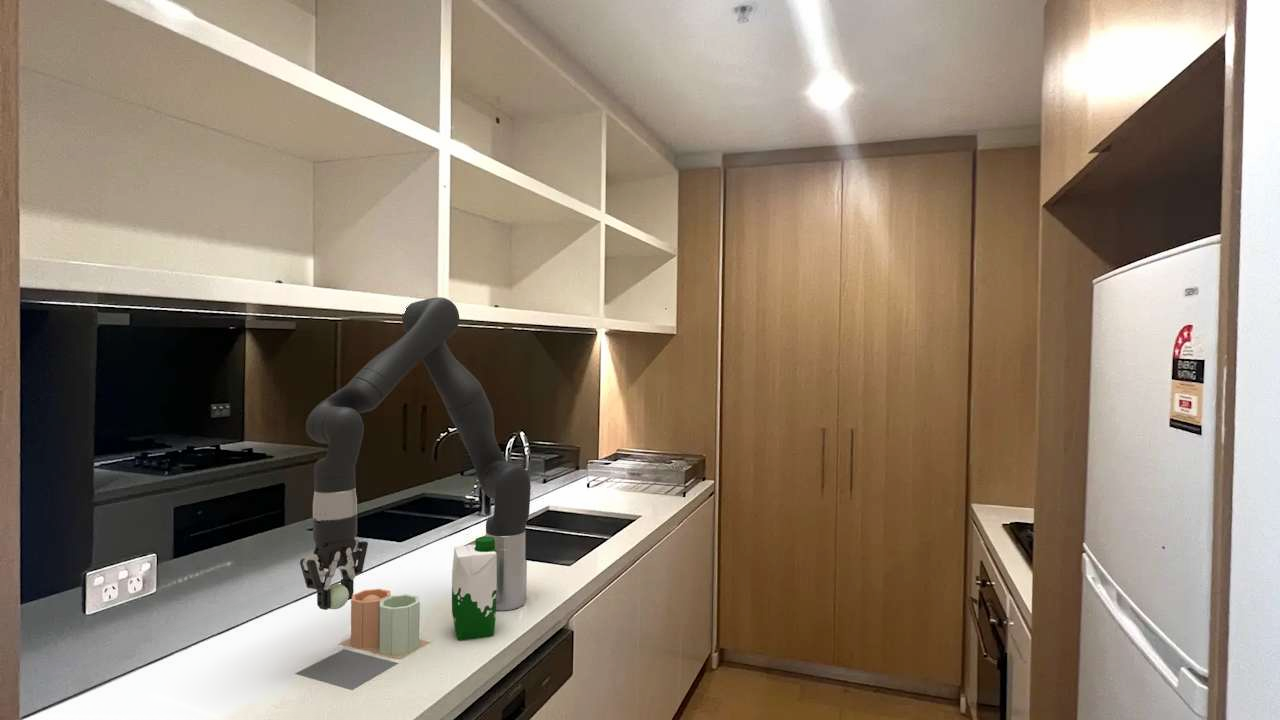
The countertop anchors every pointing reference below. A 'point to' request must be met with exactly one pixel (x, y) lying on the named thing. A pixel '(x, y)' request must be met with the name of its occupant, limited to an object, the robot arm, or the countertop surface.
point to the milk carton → (474, 589)
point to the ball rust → (371, 598)
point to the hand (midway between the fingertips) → (335, 603)
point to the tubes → (385, 624)
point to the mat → (347, 669)
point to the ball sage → (338, 596)
